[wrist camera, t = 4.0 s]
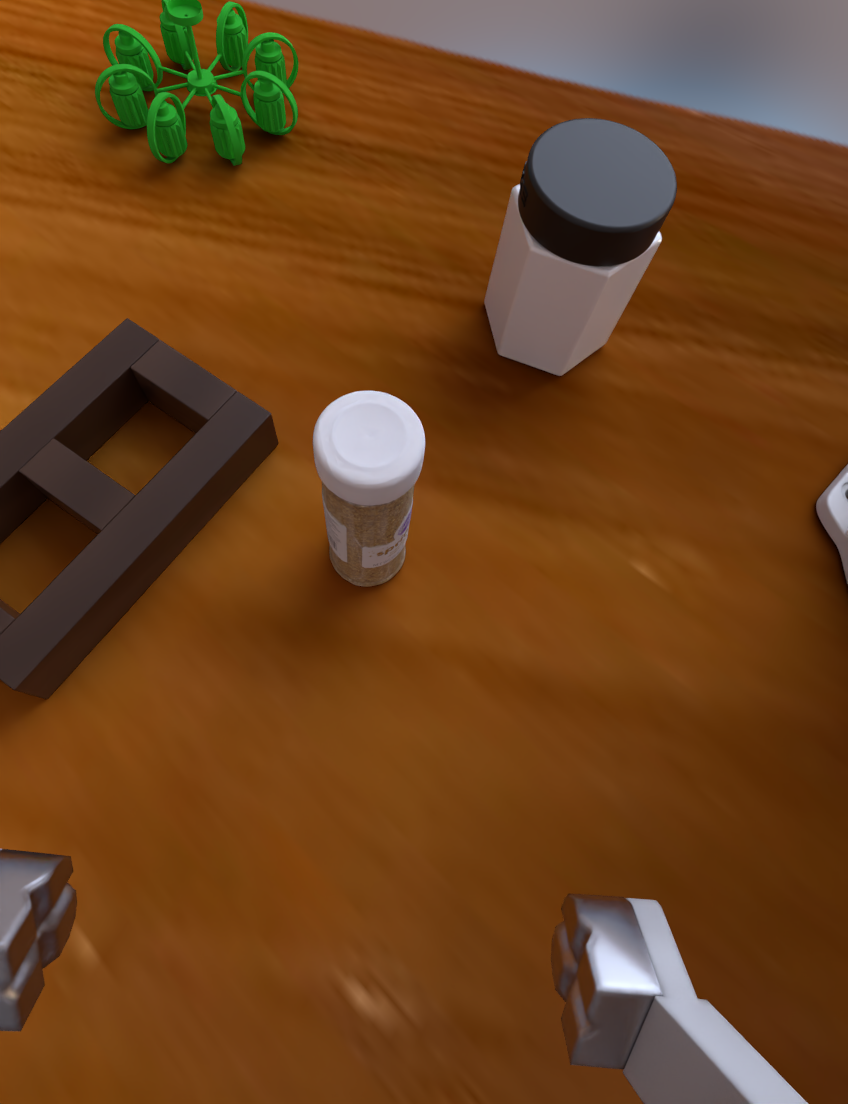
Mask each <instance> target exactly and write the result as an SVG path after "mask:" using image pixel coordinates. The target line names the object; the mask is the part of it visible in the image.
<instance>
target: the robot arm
mask: <svg viewBox="0 0 848 1104" xmlns="http://www.w3.org/2000/svg"><path fill="white" fill-rule="evenodd" d="M845 495H846V496H847V497H848V464H847V465H846V467H845V468H844V469H843V470H842V471H841V472H840V474H839V475H838V476H837V477H836V478H835V479H834V481H833V482H832V483H831V484H830V485H829V486H828V488H827V489H826V490H825V491H824V492H823V494H822V495H821V496H820V497H819V499H818V500H817V503H816V510H817V514H818V516H819V519H820V521H821V522H822V524H823V526H824V528H825V529H826V531H827V532H828V534H829V535H830V537H831V538H832V540H833V541H834V543H835V544H836V546H837V548H838V550H839V553H840V556H841V560H842V564H843V568H844V573H845V577H846V581H847V584H848V499H847V498H846V496H845ZM72 873H73V866H72V861H71V856H64V855H55V854H45V853H36V852H26V851H17V850H8V849H0V1031H21V1030H22V1028H23V1026H24V1024H25V1022H26V1020H27V1018H28V1016H29V1014H30V1012H31V1011H32V1009H33V1007H34V1005H35V1003H36V1001H37V999H38V997H39V995H40V993H41V991H42V989H43V987H44V986H45V983H44V977H43V970H42V969H43V968H45V967H46V966H47V965H48V964H50V963H51V962H52V961H54V960H55V959H56V958H58V957H59V956H60V954H61V952H62V950H63V948H64V946H65V944H66V942H67V940H68V938H69V936H70V932H71V929H72V926H73V923H74V920H75V916H76V907H77V897H76V890H75V889H73V888H72V887H71V886H70V885H69V884H68V883H67V882H68V880H69V878H70V876H71V874H72ZM561 910H562V915H563V919H564V921H563V922H561V923H560V924H558V925H557V926H556V927H555V930H554V934H553V938H552V947H551V965H552V975H553V980H554V986H555V990H556V991H557V992H558V994H559V995H560V996H561V997H562V998H563V1000H564V1001H565V1002H566V1005H565V1008H564V1011H563V1014H562V1017H561V1021H562V1026H563V1031H564V1036H565V1041H566V1046H567V1051H568V1056H569V1061H570V1065H581V1066H591V1067H602V1068H613V1069H624V1071H623V1074H624V1075H625V1077H626V1078H627V1080H628V1081H629V1083H630V1084H631V1085H632V1087H633V1088H634V1090H635V1091H636V1093H637V1094H638V1096H639V1097H640V1099H641V1100H642V1102H643V1103H644V1104H808V1103H807V1102H806V1101H805V1100H804V1099H803V1098H802V1097H801V1096H800V1095H799V1094H798V1093H797V1092H796V1091H795V1090H794V1089H793V1088H792V1087H791V1086H790V1085H789V1084H788V1083H787V1082H786V1081H785V1080H784V1079H783V1078H782V1076H781V1075H780V1074H779V1073H778V1072H777V1071H776V1070H775V1069H774V1068H773V1067H772V1066H771V1065H770V1064H769V1063H768V1062H767V1061H766V1060H765V1059H764V1058H763V1057H762V1056H761V1055H760V1054H759V1053H758V1052H757V1051H756V1050H755V1049H754V1048H753V1047H752V1046H751V1045H750V1044H749V1043H748V1042H747V1041H746V1040H745V1039H744V1038H743V1037H742V1036H741V1034H740V1033H739V1032H738V1031H737V1030H736V1029H735V1028H734V1027H733V1026H732V1025H731V1024H730V1023H729V1022H728V1021H727V1020H726V1019H725V1018H724V1017H723V1016H722V1015H721V1014H720V1013H719V1012H718V1011H717V1010H716V1009H715V1008H714V1007H713V1006H712V1005H711V1004H710V1003H709V1002H708V1001H707V1000H703V999H698V998H697V996H696V993H695V991H694V988H693V986H692V983H691V981H690V978H689V976H688V973H687V970H686V968H685V965H684V963H683V960H682V958H681V955H680V953H679V950H678V948H677V945H676V943H675V940H674V938H673V935H672V933H671V930H670V928H669V925H668V923H667V920H666V917H665V915H664V912H663V910H662V907H661V906H660V905H659V903H658V902H657V901H656V900H647V899H633V898H624V897H615V896H599V895H583V894H568V895H567V896H566V897H565V898H564V901H563V904H562V907H561Z"/></svg>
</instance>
